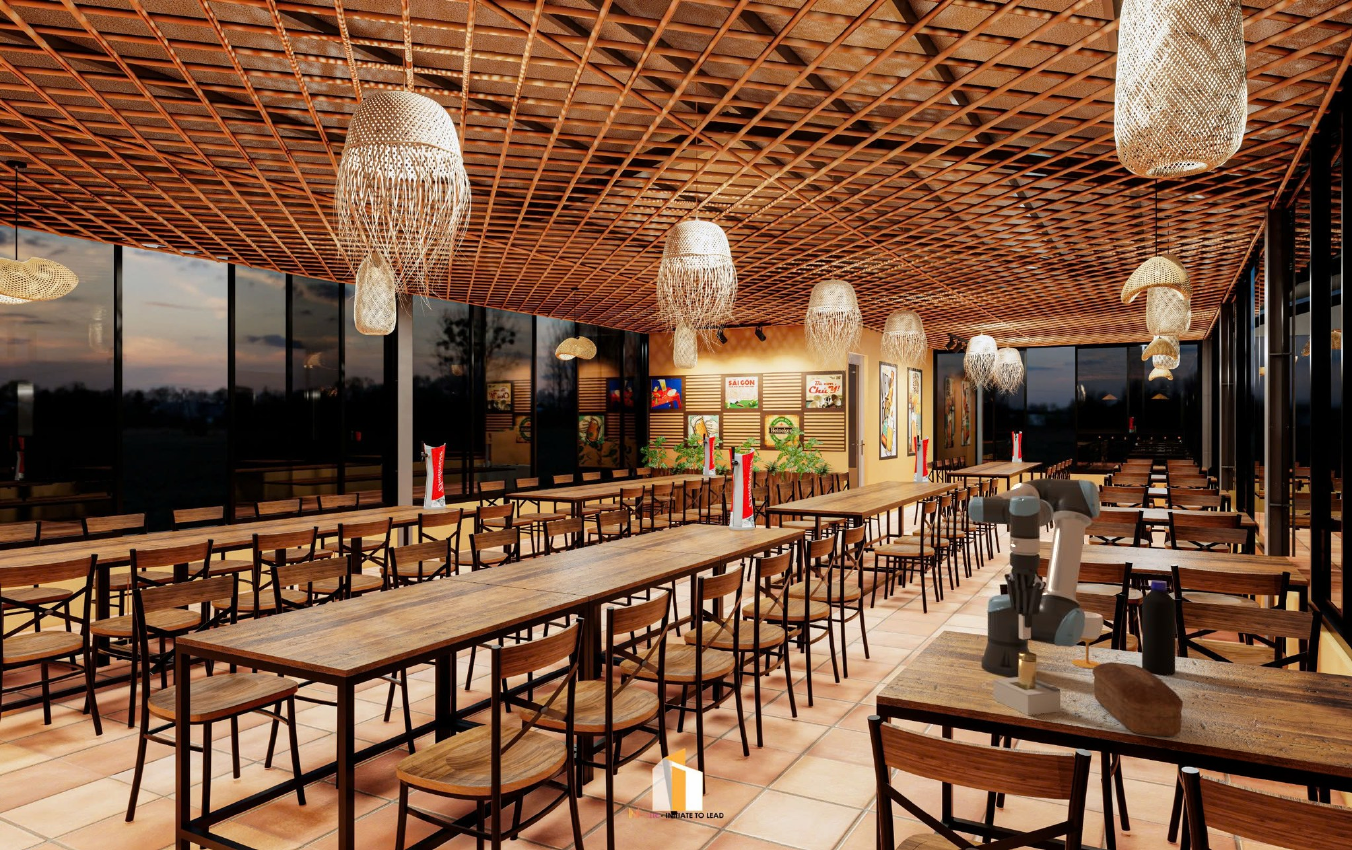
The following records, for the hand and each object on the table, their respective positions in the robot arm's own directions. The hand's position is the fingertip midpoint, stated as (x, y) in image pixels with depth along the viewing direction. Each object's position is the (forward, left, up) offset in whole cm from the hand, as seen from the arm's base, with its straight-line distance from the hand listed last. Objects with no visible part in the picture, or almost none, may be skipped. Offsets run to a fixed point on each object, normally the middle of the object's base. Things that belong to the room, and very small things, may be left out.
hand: (1024, 638), depth 212 cm
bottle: (-62, -10, -18) cm, 65 cm away
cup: (-46, -22, -18) cm, 54 cm away
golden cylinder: (+1, +2, -18) cm, 18 cm away
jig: (+1, +2, -18) cm, 18 cm away
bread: (-19, +18, -18) cm, 32 cm away
